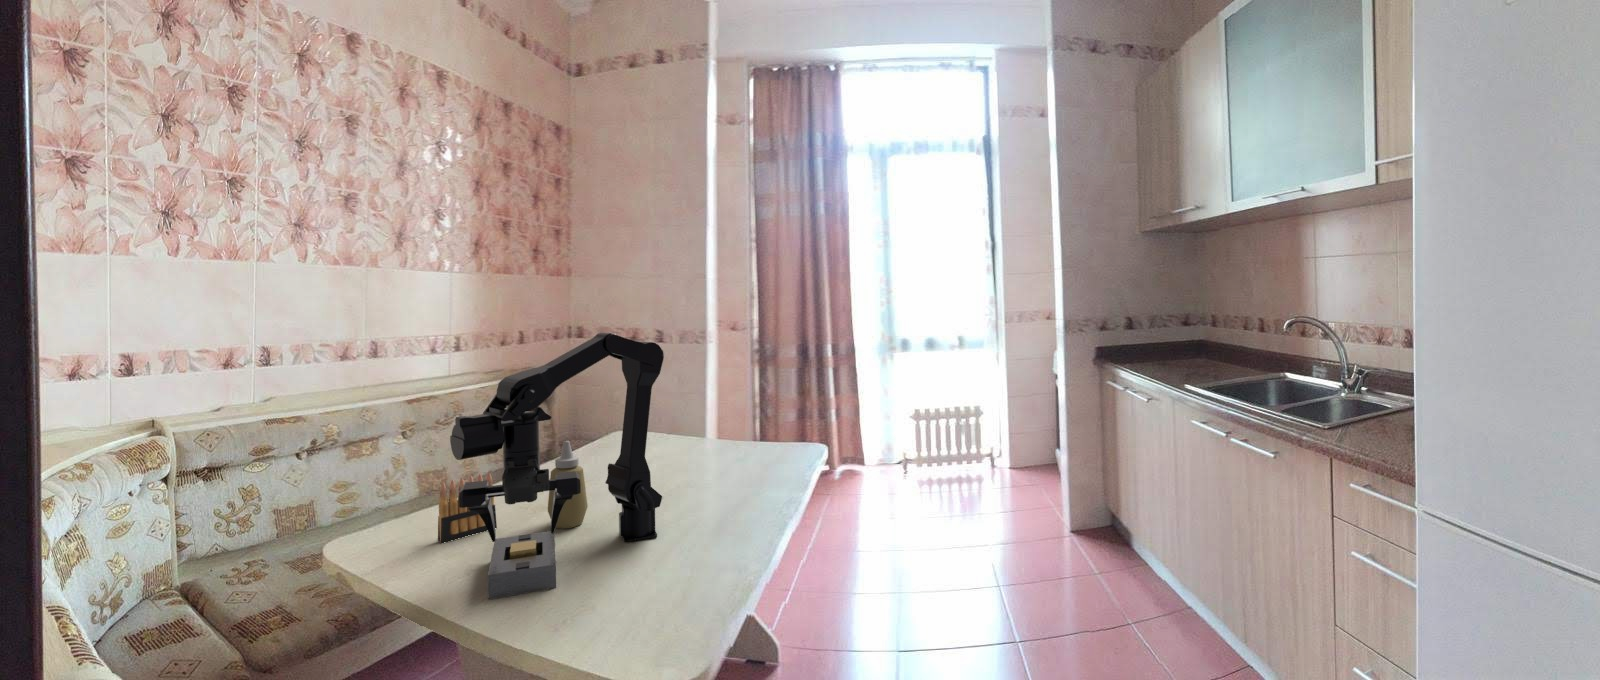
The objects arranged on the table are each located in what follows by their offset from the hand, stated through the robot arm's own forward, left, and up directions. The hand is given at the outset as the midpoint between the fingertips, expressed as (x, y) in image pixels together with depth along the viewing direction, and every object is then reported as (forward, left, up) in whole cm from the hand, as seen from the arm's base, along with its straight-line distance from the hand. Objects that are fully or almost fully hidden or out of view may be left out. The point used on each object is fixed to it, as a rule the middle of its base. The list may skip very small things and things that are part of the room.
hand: (523, 536), depth 103 cm
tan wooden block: (0, 0, -7) cm, 7 cm away
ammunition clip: (+11, -24, -7) cm, 27 cm away
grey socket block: (0, 0, -6) cm, 6 cm away
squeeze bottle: (-8, -22, -7) cm, 24 cm away
